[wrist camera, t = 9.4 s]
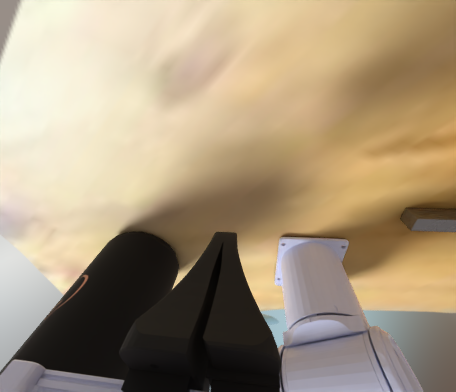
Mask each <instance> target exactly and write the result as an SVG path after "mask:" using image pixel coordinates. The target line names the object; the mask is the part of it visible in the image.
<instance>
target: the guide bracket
mask: <svg viewBox="0 0 456 392" xmlns="http://www.w3.org/2000/svg"><path fill="white" fill-rule="evenodd" d="M400 220H401V221H402V222H403V223H404V224H405V225H406V226H407V227H408V228H409V229H410V230H411V231H438V232H456V209H431V208H406V209H405V211H404V213H403V214H402V216H401V218H400Z"/></svg>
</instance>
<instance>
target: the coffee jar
mask: <svg viewBox="0 0 456 392" xmlns="http://www.w3.org/2000/svg"><path fill="white" fill-rule="evenodd" d="M178 269H179V264H178V261H177V257H176V254H175V252H174V251H173V249H172V248H171V247H170V245H168V244H167V243H166V242H165V241H163V240H162V239H160V238H158V237H156V236H154V235H152V234H148V233H144V232H129V233H125V234H122V235H118V236H116V237H115V238H113V239H112V240H111V241H109V242H108V243H107V245H106V246H105V247H104V248H103V249H102V251H101V252H100V253H99V254H98V255H97V257H96V258H95V259H94V260H93V261H92V263H91V264H90V265H89V266H88V267H87V269H86V270H85V271H84V272H83V273H82V275H81V276H80V277H79V278H78V279H77V281H76V282H75V283H74V284H73V285H72V287H71V288H70V289H69V290H68V291H67V292H66V294H65V295H64V296H63V297H62V298H61V300H60V301H59V302H58V303H57V304H56V306H55V307H54V308H53V309H52V311H51V312H50V313H49V314H48V315H47V316H46V318H45V319H44V320H43V321H42V322H41V324H40V325H39V326H38V327H37V328H36V330H35V331H34V332H33V333H32V334H31V336H30V337H29V338H28V339H27V340H26V342H25V343H24V344H23V345H22V346H21V348H20V349H19V350H18V351H17V352H16V354H15V355H14V356H13V357H12V359H11V360H10V361H9V362H8V363H7V364H6V366H5V367H4V368H3V369H2V370H1V372H0V375H1V374H2V373H3V371H4V370H5V369H6V368H7V366H8V365H9V364H10V363H11V362H12V360H15V359H16V360H23V361H31V362H35V363H38V364H40V365H42V366H43V367H44V368H45V369H47V370H54V371H62V372H69V373H76V374H83V375H90V376H97V377H104V378H112V379H119V380H125V378H126V376H127V373H128V371H129V367H128V366H127V364H126V363H125V362H124V361H123V360H122V359H121V357H120V354H119V351H120V349H121V346H122V344H123V342H124V340H125V338H126V336H127V334H128V332H129V330H130V329H131V327H132V325H133V324H134V322H135V320H136V319H138V318H139V317H140V316H142V315H143V314H144V313H146V312H147V311H148V310H149V309H151V308H152V307H153V306H155V305H156V304H157V303H158V302H159V301H160V300H161V299H163V298H164V297H165V296H166V295H167V294H168V293H169V292H170V291H171V290H172V288H173V285H174V282H175V280H176V277H177V274H178Z"/></svg>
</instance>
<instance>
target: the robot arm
mask: <svg viewBox="0 0 456 392" xmlns="http://www.w3.org/2000/svg"><path fill="white" fill-rule="evenodd" d="M282 243H284V244H282ZM348 245H349V242H348V240H346V239H329V238H303V237H281V238H280V239H279V247H278V255H277V264H276V273H275V285H278V286H282V290H283V298H284V306H285V314H286V322H287V328H288V331H286V332H283V340H284V345H281V346H280V347H279V348H277V345H276V342H275V340H274V337H273V334H272V332H271V330H270V328H269V326H268V325H267V323H266V321H265V319H264V318H263V316H262V314H261V312H260V310H259V308H258V306H257V304H256V302H255V299H254V297H253V295H252V293H251V291H250V288H249V286H248V283H247V281H246V278H245V275H244V272H243V269H242V266H241V262H240V258H239V254H238V249H237V234H236V233H230V232H216V233H215V235H214V236H213V238H212V240H211V242H210V243H209V245H208V247H207V248H206V250H205V251H204V253H203V254H202V256H201V257H200V258H199V260H198V261H197V262H196V264H195V265H194V266H193V268H192V269H191V270H190V271H189V272H188V274H187V275H186V276H185V277H184V278H183V279H182V280H181V281H180V282H179V283H178V284H177V285H176V287H175V288H174V289H172V290H171V291H170V292H169V293H168V294H167V295H166V296H165V297H164V298H163V299H161V300H160V301H159V302H158V303H157V304H156V305H155V306H153V307H152V308H151V309H149V310H148V311H147V312H146V313H144V314H143V315H142V316H140V317H139V318H138V319H136V320H135V322H134V324H133V325H132V327H131V329H130V330H129V332H128V334H127V336H126V338H125V340H124V342H123V344H122V346H121V349H120V351H119V354H120V357H121V359H122V360H123V361H124V362H125V363H126V364H127V366H128V367H129V371H128V373H127V376H126V378H125V380H119V379H112V378H104V377H97V376H90V375H83V374H76V373H69V372H62V371H54V370H47V369H45V368H44V367H43V366H42V365H40V364H38V363H35V362H31V361H23V360H16V359H15V360H12V362H11V363H10V364H9V365H8V366H7V368H6V369H5V370H4V371H3V373H2V374H1V375H0V392H209V387H210V386H211V392H423V390H422V387H421V386H420V384H419V382H418V380H417V378H416V376H415V374H414V373H413V371H412V369H411V367H410V365H409V364H408V362H407V360H406V358H405V357H404V355H403V354H402V352H401V350H400V349H399V347H398V345H397V344H396V342H395V341H394V339H393V338H392V337H391V336H390V334H388V333H387V332H385V331H383V330H381V329H380V328H379V327H378V326H373V327H370V326H369V324H368V322H367V320H366V317H365V315H364V313H363V310H362V308H361V306H360V304H359V301H358V299H357V297H356V295H355V292H354V290H353V288H352V285H351V283H350V281H349V279H348V276H347V274H346V272H345V270H344V267H343V265H342V261H343V258H344V256H345V253H346V250H347V248H348Z"/></svg>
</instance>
